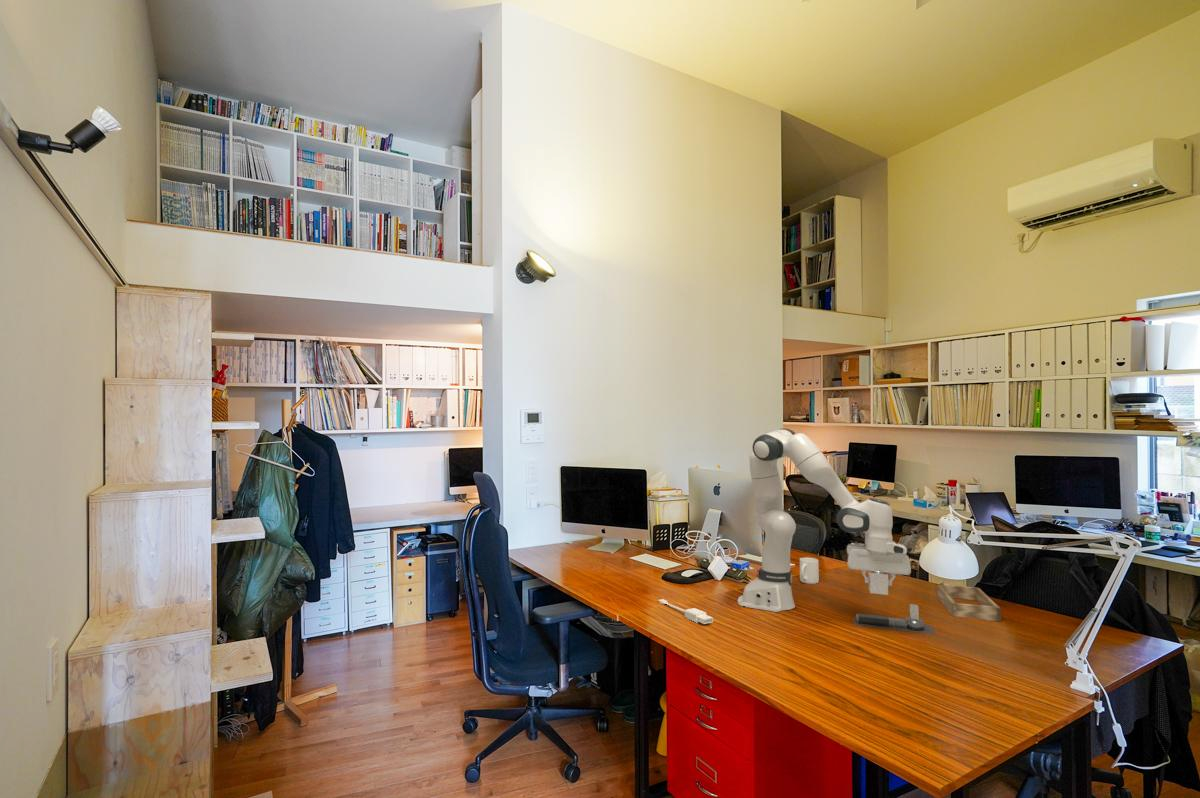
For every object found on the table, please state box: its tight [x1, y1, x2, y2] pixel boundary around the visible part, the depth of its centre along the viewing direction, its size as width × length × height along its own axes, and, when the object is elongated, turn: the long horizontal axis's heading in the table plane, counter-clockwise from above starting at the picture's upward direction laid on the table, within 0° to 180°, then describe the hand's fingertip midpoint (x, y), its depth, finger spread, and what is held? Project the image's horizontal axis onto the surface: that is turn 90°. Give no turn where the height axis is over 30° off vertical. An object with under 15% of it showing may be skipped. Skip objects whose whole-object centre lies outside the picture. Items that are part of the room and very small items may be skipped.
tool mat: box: [852, 617, 937, 635], centre depth 207 cm, size 26×9×1 cm, turn 70°
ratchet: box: [855, 603, 925, 631], centre depth 207 cm, size 22×6×8 cm, turn 70°
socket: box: [868, 571, 889, 596], centre depth 202 cm, size 6×6×8 cm
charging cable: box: [657, 598, 714, 625], centre depth 222 cm, size 5×32×3 cm, turn 28°
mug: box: [799, 557, 820, 585], centre depth 265 cm, size 12×8×10 cm
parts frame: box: [936, 583, 1002, 623], centre depth 228 cm, size 15×28×5 cm, turn 160°
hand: (878, 584), depth 201 cm, fingers closed on socket, 6 cm apart
